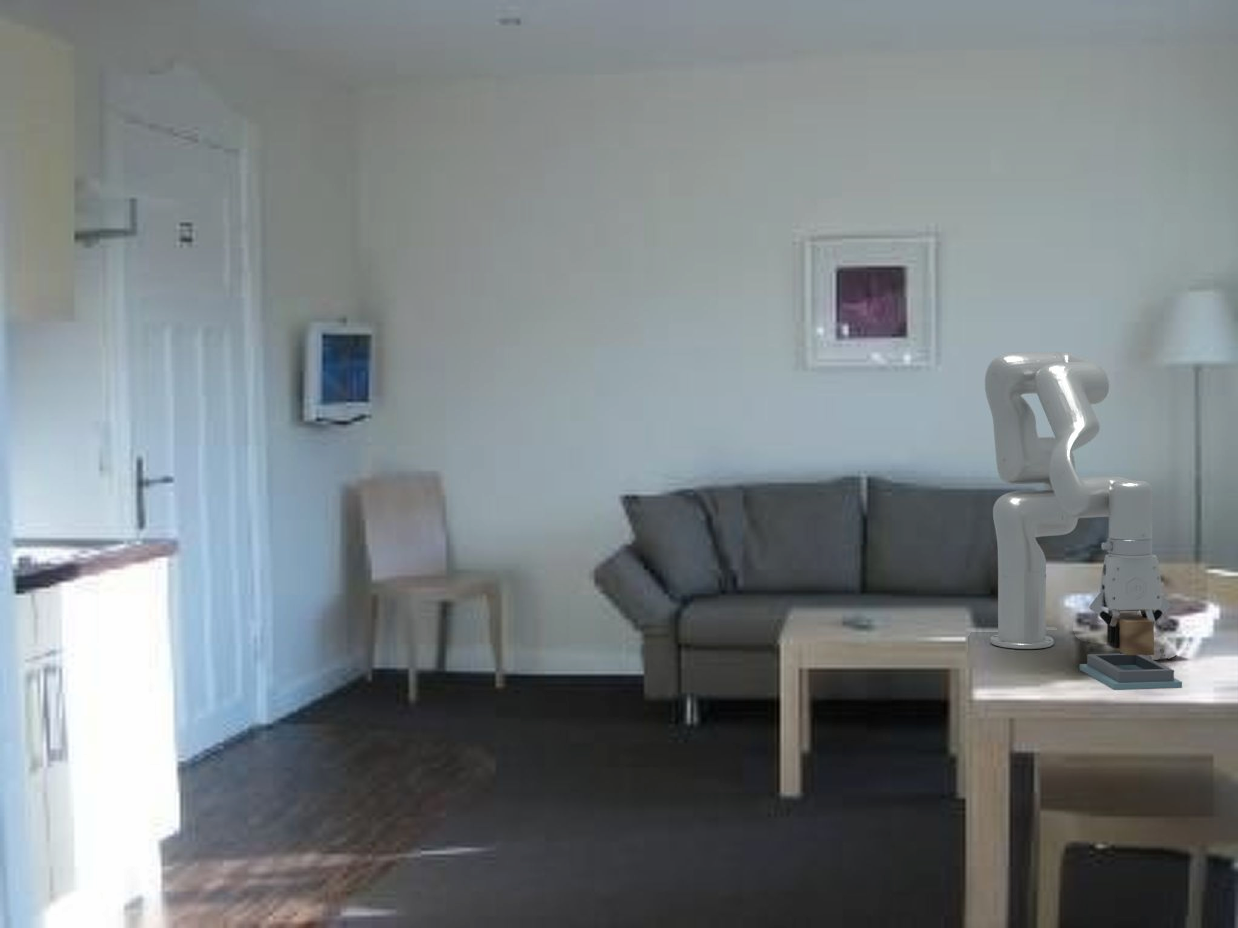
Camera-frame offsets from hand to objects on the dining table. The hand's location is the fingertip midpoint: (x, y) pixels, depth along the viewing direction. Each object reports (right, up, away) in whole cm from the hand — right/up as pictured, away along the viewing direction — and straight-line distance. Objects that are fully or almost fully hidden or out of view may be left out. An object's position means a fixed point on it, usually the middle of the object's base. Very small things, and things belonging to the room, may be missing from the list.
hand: (1129, 645), depth 275 cm
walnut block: (0, -1, 0) cm, 1 cm away
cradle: (0, -6, +1) cm, 6 cm away
